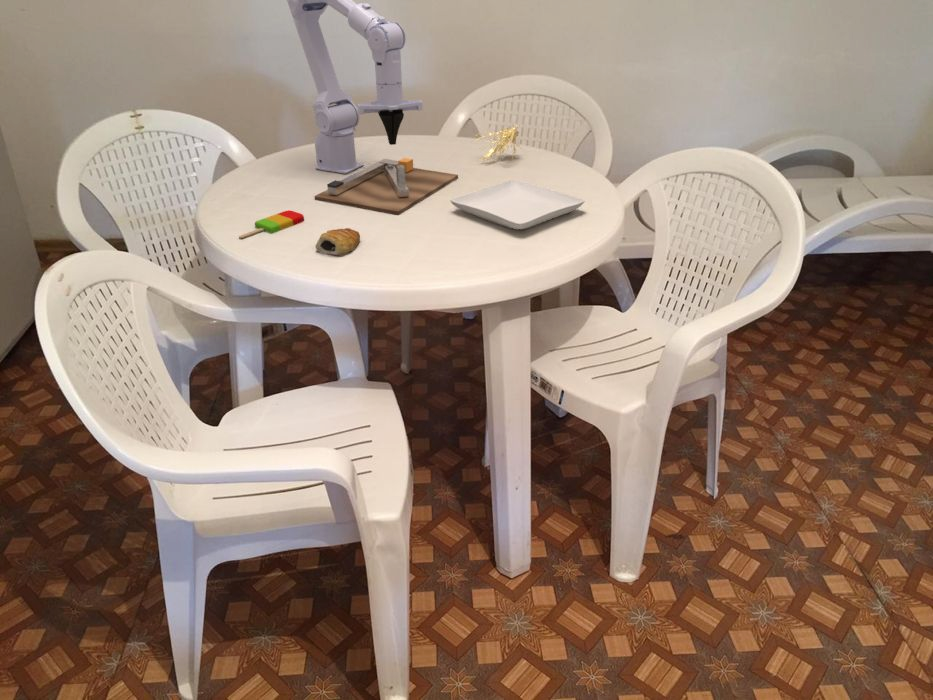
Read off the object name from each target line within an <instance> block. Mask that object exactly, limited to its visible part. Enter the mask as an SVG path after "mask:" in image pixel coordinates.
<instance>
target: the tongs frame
mask: <svg viewBox="0 0 933 700" xmlns="http://www.w3.org/2000/svg"><path fill="white" fill-rule="evenodd" d="M398 161H399V160H396V159H390V158H389V159H388V158H384V159H381V160H380V161H378V162H375V163H374V164H371V165H370V166H366V167H365V168H363V169H361V170H359V171H358V172H355V173H353V174H351V175H349V176H346V177H345V178H342V179H341V180H334V181H331V182H328V183H327V185H326V186H327V190H328V194H333V195H338V194H340V193H342V192H344V191H345V190H347V189H349V188H351V187H353V186H355V185H357V184H359V183H361V182H363V181H365V180H367V179H369V178H371V177H373V176H375V175H377V174H379V173H381V172H383V171H384V170H385V167H387V165H388V164H393V166H395V168H396V165H398Z"/></svg>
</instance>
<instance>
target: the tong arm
mask: <svg viewBox="0 0 933 700" xmlns="http://www.w3.org/2000/svg"><path fill="white" fill-rule="evenodd" d="M385 172H386V175H387V176H388V178H389V180H390V182H391V183H392V185H393V187H394V189H395V190H396V192H397V194H398V196H399V197H407V196H409V189H408V187H407V186H406V183H405V167H404V166H403V165H396V168H395V166H393V164H388V165H387V167H385Z"/></svg>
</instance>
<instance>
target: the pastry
mask: <svg viewBox="0 0 933 700" xmlns="http://www.w3.org/2000/svg"><path fill="white" fill-rule="evenodd" d="M360 241H361V235H360V232H359V231H357V230H354V229H352V228H349V227H346V228H338V229H331V230H327V231H326V232H323V233H322V234H321V235H320V236H319V239H318V240H317V242H316V244H315V245H314V246H315V249H316V251H318V252H319V253H320V254H325V255H332V256H344V255H347V254H349V253H350V251H353V250H355V248H357V247H358V245H359V243H360Z"/></svg>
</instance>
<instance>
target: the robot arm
mask: <svg viewBox="0 0 933 700" xmlns="http://www.w3.org/2000/svg"><path fill="white" fill-rule="evenodd" d="M286 1H287V4H288V7H289V10H290V14H291V17H292V18H293V23H294V25H295V28H296V31H297V34H298V37H299V39H300V43H301V45H302V49H303V51H304V55H305V58H306V61H307V63H308V67H309V69H310V72H311V76H312V78H313V81H314V84H315V87H316V91H317V93H318V96H317V98H315V99H316V100H315V101H314V102H313V105H312V108H313V111H314V119H315V125H316V127H317V129H318V130H319V131H318V133H317V134H316V136H315V139H314V140H315V141H314V148H315V158H316V166H315V170H321V171H325V172H326V171H328V172H333V173H339V174H343V175H344V174H345V175H346V174H349V173H351V172H353V171H354V170H357V169H359V168H362V167H363V166H364V163H361V162H357V158H356V156H357V155H356V146H355V144H356V143H355V135H354V132H356V131H357V129H356V127H357V126H358V125H359V123H360V115H364V114H375V113H376V114H378V116H379V118H380V120H381V122H382V125H383V127H384V129H385V132H386V136H387V140H388V144H389V145H390V146H392V145H393V146H394V145H397V139H398V133H399V130H400V126H401V124H402V122H403V120H404V116H405V115H404V112H405V111H406V112H407V111H423V100H421V99H403V82H402V81H403V80H402V79H403V77H402V60H401V59H402V57H401V55H402V54H401V50H402V49H403V48H404V46H405V45H406V33H405V29H404V28H403V27H402V25H401V24H400V23H399V22H398V21H388V20H386V17H384V16H383V15H381V16H380V14H378V13H377V12H376V11H374V10H373V9H371V8H372V6H371V5H370V4H369V3H362V2H361V3H356V2H355V1H354V0H286ZM328 6H330V7H331V8H332V9H334V11H336V12H338V13H339V14H341V15H342V16H345V18H347V23H348V25H349V27H350V28H351V29H352V30H354V31H355V32H356V33H358V35H360V36H362V37H363V38H364V39H365V40H366V41H367V45H368V47H369V50H370V51H371V55H372V56H371V57H372V60H373V61H374V67H375V69H374V71H375V85H376V87H375V88H376V99H377V100H376V101H372V102H371V101H370V102H364V103H357V105H356V104H355V103H354V101H353V99H352V96H351V95H350V94H349V93H348V92H346V91H344V90H343V89H342V88H341V87H340V83H339V80H338V78H337V74H336V72H335V69H334V65H333V63H332V59H331V56H330V53H329V50H328V46H327V43H326V41H325V38H324V35H323V32H322V28H321V25H320V22H319V19H320V18H321V15H323V14H324V13H325V11H326V10H327V8H328Z"/></svg>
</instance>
